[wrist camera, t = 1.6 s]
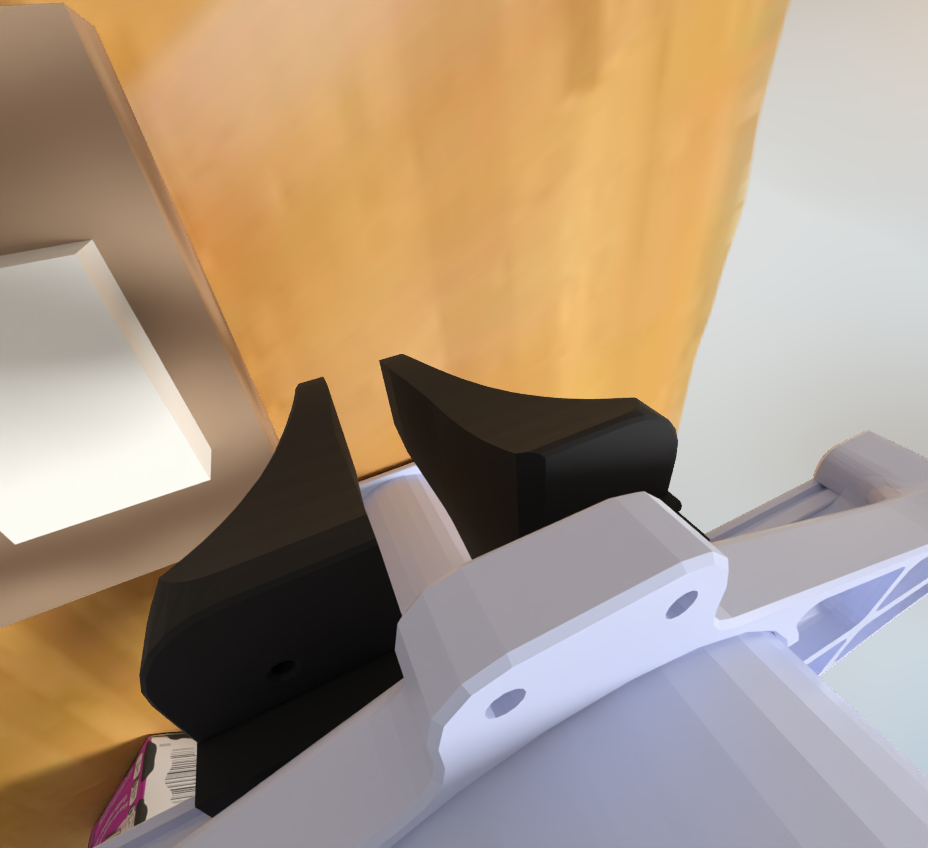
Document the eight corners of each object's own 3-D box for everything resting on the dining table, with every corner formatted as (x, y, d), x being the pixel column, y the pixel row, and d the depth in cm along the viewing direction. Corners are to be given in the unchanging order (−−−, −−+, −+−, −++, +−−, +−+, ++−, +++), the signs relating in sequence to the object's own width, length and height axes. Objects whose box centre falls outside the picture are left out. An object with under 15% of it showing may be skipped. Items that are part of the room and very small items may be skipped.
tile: (211, 449, 18) (210, 479, 16) (34, 505, 16) (14, 544, 15) (92, 239, 13) (75, 254, 12) (-176, 287, 11) (-237, 312, 10)
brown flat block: (292, 472, 24) (301, 515, 21) (29, 563, 21) (1, 628, 18) (94, 27, 13) (63, 2, 11) (-516, 66, 10) (-783, 44, 7)
